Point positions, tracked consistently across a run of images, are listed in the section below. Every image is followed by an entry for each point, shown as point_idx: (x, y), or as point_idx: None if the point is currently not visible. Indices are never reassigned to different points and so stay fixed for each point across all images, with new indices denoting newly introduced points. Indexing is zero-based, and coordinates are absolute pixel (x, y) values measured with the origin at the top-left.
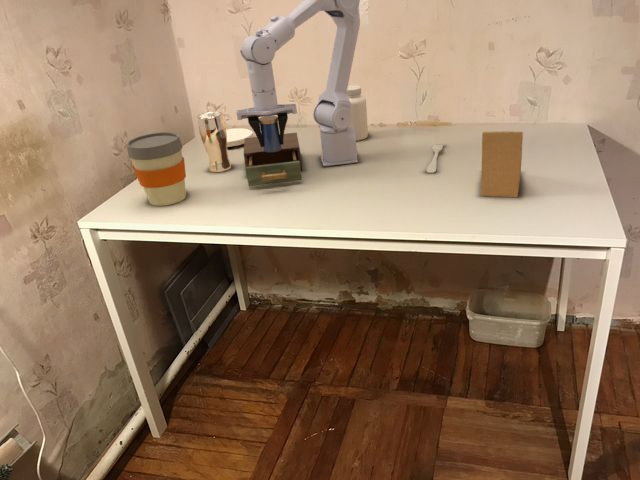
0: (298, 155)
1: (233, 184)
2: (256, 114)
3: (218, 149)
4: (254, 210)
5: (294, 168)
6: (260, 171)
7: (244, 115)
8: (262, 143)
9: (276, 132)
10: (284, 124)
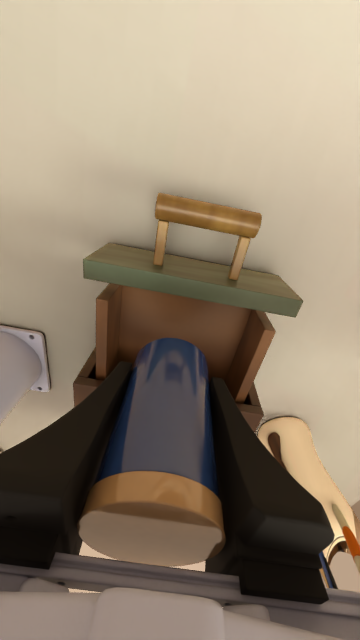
0: (91, 364)
1: (297, 335)
2: (277, 628)
3: (308, 473)
4: (341, 34)
5: (115, 256)
6: (244, 283)
7: (352, 632)
8: (216, 386)
9: (129, 409)
10: (44, 435)
